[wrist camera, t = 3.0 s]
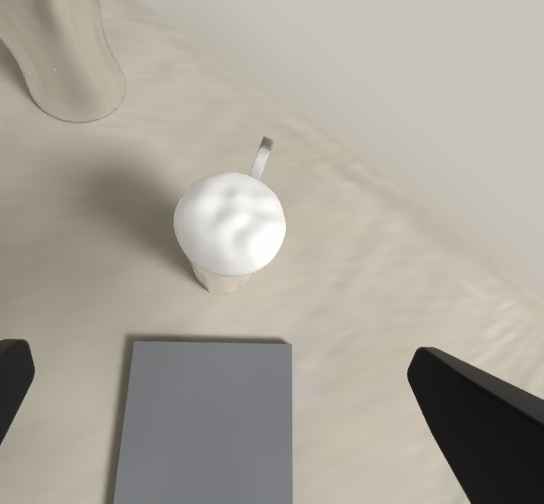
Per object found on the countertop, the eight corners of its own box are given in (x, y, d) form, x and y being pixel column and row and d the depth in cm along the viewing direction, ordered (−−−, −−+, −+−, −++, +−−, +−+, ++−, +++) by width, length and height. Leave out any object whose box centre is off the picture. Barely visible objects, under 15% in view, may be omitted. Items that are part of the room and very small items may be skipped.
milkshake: (273, 244, 23) (321, 164, 13) (238, 317, 21) (266, 284, 11) (212, 214, 22) (217, 112, 13) (171, 285, 21) (144, 225, 11)
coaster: (290, 517, 18) (292, 522, 18) (111, 530, 17) (108, 536, 16) (289, 344, 21) (291, 344, 20) (136, 341, 19) (134, 340, 19)
